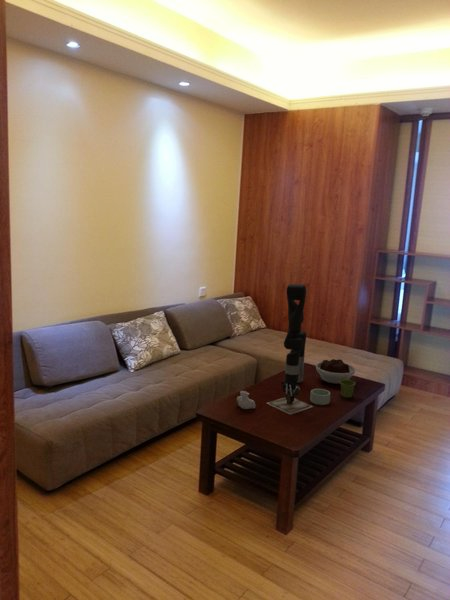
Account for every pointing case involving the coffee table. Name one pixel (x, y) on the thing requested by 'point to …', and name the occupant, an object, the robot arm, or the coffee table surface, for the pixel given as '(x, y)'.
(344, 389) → the plant pot
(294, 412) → the tray
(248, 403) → the bust
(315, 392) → the bowl
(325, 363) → the white round tub
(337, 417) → the coffee table surface
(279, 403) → the cover board
